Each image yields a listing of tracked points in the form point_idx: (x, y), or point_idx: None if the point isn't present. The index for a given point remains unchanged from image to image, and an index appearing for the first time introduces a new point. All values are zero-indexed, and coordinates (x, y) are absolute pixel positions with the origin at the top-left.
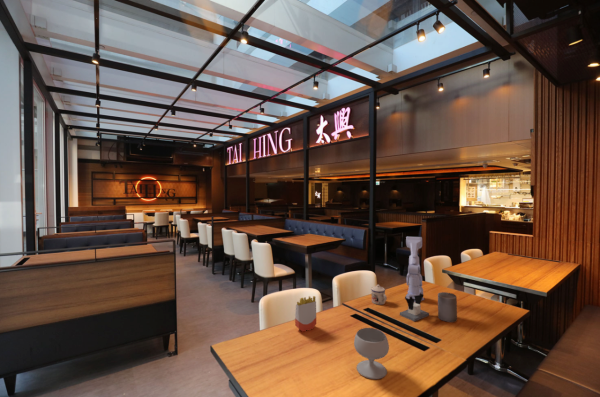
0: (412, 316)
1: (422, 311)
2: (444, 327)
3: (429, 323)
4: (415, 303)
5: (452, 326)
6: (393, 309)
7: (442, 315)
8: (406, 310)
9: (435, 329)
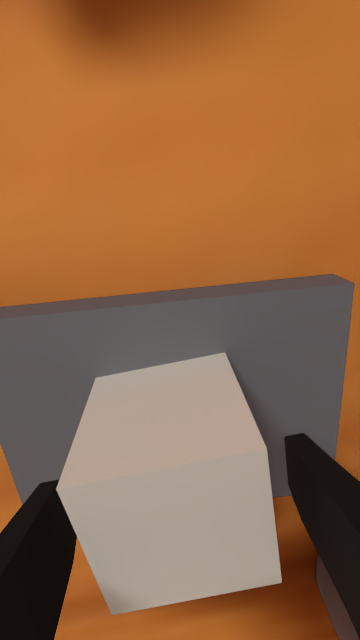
0: (59, 478)
1: (306, 433)
2: (207, 630)
3: None
4: (251, 517)
5: (276, 636)
6: (18, 75)
7: (339, 626)
8: (128, 314)
9: (111, 629)
